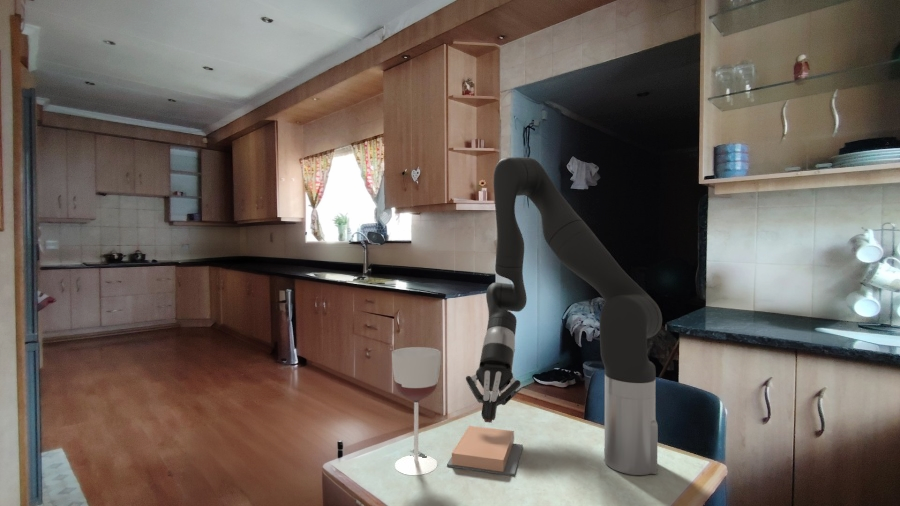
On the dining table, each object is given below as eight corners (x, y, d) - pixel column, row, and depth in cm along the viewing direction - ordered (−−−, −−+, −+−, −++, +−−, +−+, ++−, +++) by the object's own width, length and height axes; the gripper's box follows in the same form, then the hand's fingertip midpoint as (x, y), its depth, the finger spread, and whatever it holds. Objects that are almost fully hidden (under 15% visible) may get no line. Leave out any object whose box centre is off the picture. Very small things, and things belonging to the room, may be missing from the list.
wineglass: (439, 476, 82) (440, 357, 82) (388, 475, 82) (388, 356, 82) (441, 454, 91) (441, 347, 91) (394, 453, 91) (395, 346, 91)
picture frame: (514, 431, 96) (503, 460, 82) (513, 441, 96) (503, 472, 82) (469, 425, 99) (451, 453, 85) (469, 436, 99) (451, 465, 85)
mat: (522, 446, 95) (522, 444, 95) (514, 476, 82) (514, 473, 82) (463, 439, 98) (463, 437, 98) (447, 466, 86) (447, 464, 86)
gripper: (468, 339, 104) (454, 409, 93) (524, 343, 101) (517, 416, 89) (473, 357, 110) (460, 425, 98) (527, 361, 106) (520, 432, 94)
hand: (487, 420), depth 93 cm, fingers closed
